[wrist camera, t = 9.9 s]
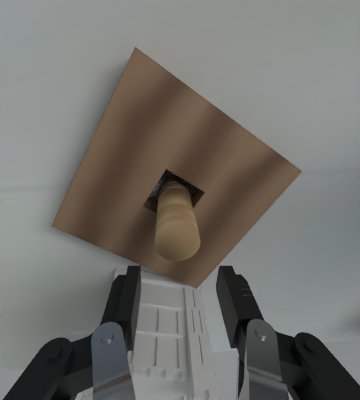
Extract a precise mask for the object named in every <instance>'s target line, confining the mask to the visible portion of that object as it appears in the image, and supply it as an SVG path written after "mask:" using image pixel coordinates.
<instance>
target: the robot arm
mask: <svg viewBox="0 0 360 400" xmlns="http://www.w3.org/2000/svg"><path fill="white" fill-rule="evenodd" d="M216 291H217V296H218V300H219V304H220V308H221V312H222V316H223V319H224V323H225V327H226V331H227V335H228V339H229V343H230V347H231V348H237V349H238V353H239V357H238V370H237V389H236V390H237V391H236V400H289V396H288V392H289V393H290V395H291V396H292V398H293V400H360V385H359V384H358V383H357V382H356V381H355V380H354V379H353V377H352V376H351V375H350V374H349V373H348V372H347V371H346V370H345V368H344V367H343V366H342V365H341V364H340V362H339V361H338V360H337V359H336V358H335V357H334V356H333V354H332V353H331V352H330V351H329V350H328V349H327V348H326V347H325V345H324V344H323V343H322V342H321V341H320V340H319V339H318V338H316V337H315V336H313V335H311V334H309V333H305V332H301V333H298V334H297V335H296V336H295V338H294V337H291V336H288V335H284V334H281V333H278V332H276V331H275V330H274V329H273V328H272V326H271V325H270V324H268V323H267V322H265V321H264V319H263V316H262V314H261V312H260V310H259V307H258V305H257V303H256V301H255V298H254V296H253V294H252V292H251V290H250V287H249V285H248V282H247V281H246V280H245V278H244V277H243V276H242V275H236V274H235V272H234V269H233V267H232V266H220V267H219V271H218V277H217V283H216ZM140 296H141V266H128V268H127V272H126V275H118V276H117V277H116V279H115V280H114V281H113V284H112V287H111V291H110V294H109V298H108V301H107V304H106V308H105V311H104V315H103V318H102V321H101V324H100V326H99V327H98V328H97V329H96V330H95V331H94V333H92V334H91V335H90V336H88V337H85V338H83V339H80V340H77V341H74V342H70V341H69V340H68V339H66V338H56V339H53V340H51V341H49V342H48V343H46V344H45V345H44V346H43V347H42V348H41V349H40V350H39V352H38V353H37V354H36V356H35V357H34V358H33V360H32V361H31V362H30V364H29V365H28V366H27V368H26V369H25V371H24V372H23V373H22V375H21V376H20V377H19V379H18V380H17V381H16V383H15V384H14V385H13V387H12V388H11V389H10V391H9V392H8V393H7V395H6V396H5V397H4V399H3V400H75V398H76V396H77V394H78V393H79V392H82V391H84V390H87V389H89V388H91V387H93V400H136V397H135V392H134V386H133V381H132V377H131V374H130V369H129V364H128V358H127V356H128V351H133V349H134V341H135V334H136V326H137V319H138V311H139V304H140Z"/></svg>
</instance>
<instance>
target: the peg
mask: <svg viewBox="0 0 360 400" xmlns="http://www.w3.org/2000/svg"><path fill="white" fill-rule="evenodd" d="M199 247H200V236H199V232H198V228H197V223H196V219H195V215H194V211H193V207H192V203H191V197H190V193H189V191H188V189H187V188H186V186H185V183H184V182H183V181H182V180H181V179H180V178H177V177H170V178H167V179H166V180H165V181H164V182H163V183H162V186H161V190H160V191H159V194H158V208H157V220H156V232H155V248H156V251H157V252H158V253H159V255H161V256H162V257H163V258H165V259H167V260H171V261H183V260H186V259H188V258H190V257H192V256H193V255H194V254H195V253H196V252H197V251H198V249H199Z"/></svg>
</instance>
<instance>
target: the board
mask: <svg viewBox="0 0 360 400" xmlns="http://www.w3.org/2000/svg"><path fill="white" fill-rule="evenodd" d="M166 169H167V170H169V171H170V172H172V173H174V174H175V175H177V176H179V177H180V178H182V179H184V180H185V181H187V182H189V183H190V184H192V185H194V186H195V187H197V189H196V191H195V192H194V193H193V195H192V196H191V203H192V207H193V211H194V215H195V219H196V223H197V228H198V232H199V236H200V247H199V249H198V251H197V252H196V253H195V254H194V255H193V256H192V257H190V258H188V259H186V260H183V261H171V260H167V259H165V258H163V257H162V256H161V255H159V253H158V252H157V251H156V248H155V232H156V220H157V208H158V202H157V201H155V200H153V199H151V198H150V197H149V195H150V194H151V192H152V191H153V189H154V187H155V186H156V184H157V183H158V181H159V180H160V178H161V176H162V175H163V173H164V172H165V170H166ZM301 172H302V171H301V170H300V169H298V168H297V167H296V166H294V165H293V164H292V163H290V162H289V161H288V160H286V159H285V158H284V157H282V156H281V155H280V154H278V153H277V152H276V151H274V150H273V149H272V148H270V147H269V146H268V145H266V144H265V143H264V142H262V141H261V140H260V139H258V138H257V137H256V136H254V135H253V134H251V133H250V132H249V131H247V130H246V129H245V128H243V127H242V126H241V125H239V124H238V123H237V122H235V121H234V120H233V119H231V118H230V117H229V116H227V115H226V114H225V113H223V112H222V111H221V110H219V109H218V108H217V107H215V106H214V105H213V104H211V103H210V102H209V101H207V100H206V99H205V98H203V97H202V96H201V95H199V94H198V93H196V92H195V91H194V90H192V89H191V88H190V87H188V86H187V85H186V84H184V83H183V82H182V81H180V80H179V79H178V78H176V77H175V76H174V75H172V74H171V73H170V72H168V71H167V70H166V69H164V68H163V67H162V66H160V65H159V64H158V63H156V62H155V61H154V60H152V59H151V58H150V57H148V56H147V55H145V54H144V53H143V52H141V51H140V50H139V49H137V48H136V47H135V48H134V51H133V53H132V55H131V57H130V59H129V61H128V63H127V66H126V68H125V70H124V72H123V74H122V76H121V78H120V81H119V83H118V85H117V87H116V89H115V91H114V93H113V96H112V98H111V100H110V102H109V104H108V106H107V108H106V111H105V113H104V115H103V117H102V119H101V121H100V123H99V126H98V128H97V130H96V132H95V134H94V136H93V138H92V141H91V143H90V145H89V147H88V149H87V151H86V153H85V156H84V158H83V160H82V162H81V164H80V166H79V168H78V171H77V173H76V175H75V177H74V179H73V181H72V183H71V186H70V188H69V190H68V192H67V194H66V196H65V198H64V200H63V203H62V205H61V207H60V209H59V211H58V213H57V215H56V218H55V220H54V222H53V224H52V226H53V227H55V228H57V229H59V230H62V231H64V232H66V233H69V234H71V235H73V236H76V237H78V238H80V239H82V240H85V241H87V242H89V243H92V244H94V245H96V246H99V247H101V248H103V249H106V250H108V251H110V252H112V253H115V254H117V255H119V256H122V257H124V258H126V259H129V260H131V261H133V262H135V263H138V264H140V265H142V266H145V267H147V268H149V269H152V270H154V271H156V272H158V273H161V274H163V275H165V276H168V277H170V278H172V279H175V280H177V281H179V282H181V283H184V284H186V285H188V286H191V287H193V288H195V289H197V288H198V287H199V286H200V284H201V283H202V282H203V281H204V280H205V279H206V278H207V277H208V276H209V274H210V273H211V272H212V271H213V270H214V269H215V268H216V267H217V265H218V264H219V263H220V262H221V261H222V260H223V259H224V258H225V257H226V255H227V254H228V253H229V252H230V251H231V250H232V249H233V248H234V247H235V245H236V244H237V243H238V242H239V241H240V240H241V239H242V238H243V236H244V235H245V234H246V233H247V232H248V231H249V230H250V229H251V228H252V226H253V225H254V224H255V223H256V222H257V221H258V220H259V219H260V218H261V216H262V215H263V214H264V213H265V212H266V211H267V210H268V209H269V207H270V206H271V205H272V204H273V203H274V202H275V201H276V200H277V199H278V197H279V196H280V195H281V194H282V193H283V192H284V191H285V190H286V188H287V187H288V186H289V185H290V184H291V183H292V182H293V181H294V180H295V178H296V177H297V176H298V175H299V174H300V173H301Z"/></svg>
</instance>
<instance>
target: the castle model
mask: <svg viewBox="0 0 360 400" xmlns="http://www.w3.org/2000/svg"><path fill="white" fill-rule="evenodd" d="M126 272H127V269H122V268H116V271H115V274H114V279H113V281H114V280H115V279H116V277H117V276H118V275H126ZM201 288H202V286H201V284H200V286H199V287H198V288H197V289H195V288H193V287H191V286H188V285H186V284H184V283H181V282H179V281H177V280H175V279H172V278H170V277H168V276H165V275H159V274H153V273H147V272H141V296H140V304H139V311H138V319H137V326H136V334H135V341H134V349H133V351H128V356H127V358H128V364H129V369H130V374H131V377H132V381H133V386H134V392H135V397H136V400H219V399H220V397H219V391H218V385H217V380H216V374H215V369H214V363H213V357H212V352H211V346H210V340H209V335H208V329H207V323H206V318H205V312H204V307H203V301H202V295H201ZM81 400H93V387H91V388H89V389H87V390H84V391H82V398H81Z"/></svg>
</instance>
